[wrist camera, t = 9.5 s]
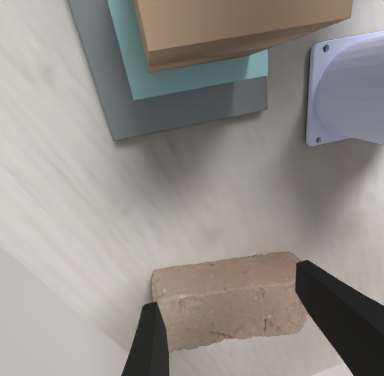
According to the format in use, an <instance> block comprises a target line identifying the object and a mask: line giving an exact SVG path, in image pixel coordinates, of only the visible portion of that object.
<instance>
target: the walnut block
mask: <svg viewBox="0 0 384 376" xmlns="http://www.w3.org/2000/svg"><path fill="white" fill-rule="evenodd" d="M352 1H353V0H133V3H134V8H135V12H136V17H137V21H138V26H139V30H140V35H141V39H142V44H143V48H144V53H145V57H146V61H147V66H148V70H149V73H154V72H160V71H165V70H171V69H177V68H182V67H188V66H194V65H199V64H205V63H211V62H216V61H222V60H228V59H233V58H239V57H245V56H250V55H252V54H255V53H258V52H260V51H263V50H266V49H268V48H271V47H274V46H276V45H279V44H282V43H284V42H287V41H290V40H292V39H295V38H298V37H300V36H303V35H306V34H308V33H311V32H314V31H316V30H319V29H322V28H324V27H327V26H330V25H332V24H335V23H338V22H340V21H343V20H346V19H348V18H351V10H352Z"/></svg>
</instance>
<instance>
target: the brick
mask: <svg viewBox="0 0 384 376" xmlns="http://www.w3.org/2000/svg"><path fill="white" fill-rule="evenodd" d="M298 262H301V261H300V260H299V259H298V258H297V257H295V256H294V254H292V253H285V252H283V253H271V254H268V255H265V256H262V255H255V256H253V257H252V256H248V257H241V258H233V259H229V260H221V261H216V262H206V263H201V264H196V265H182V266H177V267H172V268H165V269H159V270H156V271H154V272H153V276H152V285H151V290H152V298H153V302H156V301H157V303H158V306H159V309H160V312H161V315H162V318H163V321H164V324H165V327H166V332H167V341H168V350H169V352H173V351H174V350H182V349H193V348H198V347H199V346H206V345H210V344H212V343H217V342H220V341H222V340H223V339H225V338H226V339H234V338H238V339H247V338H251V337H253V336H267V337H269V336H271V335H273V336H278V335H286V334H294V333H297V332H298V331H300V330H301V329H302V328H303V326H304V323H305V322H306V318H307V315H308V312H307V311H306V309H305V307H304V306H303V304H302V302H301V301H300V299H299V297H298V295H297V294H296V292H295V281H296V263H298Z"/></svg>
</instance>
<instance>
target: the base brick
mask: <svg viewBox="0 0 384 376" xmlns="http://www.w3.org/2000/svg"><path fill="white" fill-rule="evenodd" d="M108 4H109V8H110V12H111V16H112V19H113V23H114V27H115V31H116V35H117V39H118V42H119V46H120V50H121V54H122V58H123V61H124V65H125V69H126V73H127V77H128V81H129V84H130V88H131V92H132V96H133V100H138V99H143V98H149V97H154V96H159V95H165V94H170V93H176V92H181V91H186V90H192V89H197V88H202V87H208V86H213V85H218V84H224V83H229V82H234V81H240V80H245V79H250V78H256V77H261V76H267V75H268V49H266V50H263V51H260V52H258V53H255V54H252V55H250V56H245V57H239V58H233V59H228V60H222V61H216V62H211V63H205V64H199V65H194V66H188V67H182V68H177V69H171V70H165V71H160V72H154V73H149V70H148V66H147V61H146V57H145V53H144V48H143V44H142V39H141V35H140V30H139V26H138V21H137V17H136V12H135V8H134V3H133V0H108Z"/></svg>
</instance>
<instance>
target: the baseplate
mask: <svg viewBox="0 0 384 376" xmlns="http://www.w3.org/2000/svg"><path fill="white" fill-rule="evenodd" d="M69 4H70V7H71V10H72V13H73V16H74V19H75V22H76V25H77V28H78V32H79V35H80V38H81V41H82V44H83V47H84V50H85V53H86V56H87V60H88V63H89V66H90V69H91V72H92V75H93V78H94V81H95V84H96V87H97V91H98V94H99V97H100V100H101V103H102V106H103V109H104V112H105V115H106V119H107V122H108V125H109V128H110V131H111V134H112V137H113V140H114V141H115V140H120V139H125V138H130V137H135V136H140V135H145V134H150V133H155V132H160V131H165V130H170V129H175V128H180V127H185V126H190V125H195V124H199V123H204V122H209V121H214V120H219V119H224V118H229V117H234V116H239V115H244V114H249V113H254V112H259V111H264V110H267V76H261V77H256V78H250V79H245V80H240V81H234V82H229V83H224V84H218V85H213V86H208V87H202V88H197V89H192V90H186V91H181V92H176V93H170V94H165V95H159V96H154V97H149V98H143V99H138V100H133V96H132V92H131V88H130V84H129V81H128V77H127V73H126V69H125V65H124V61H123V58H122V54H121V50H120V46H119V42H118V39H117V35H116V31H115V27H114V23H113V19H112V16H111V12H110V8H109V4H108V0H69Z"/></svg>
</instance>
